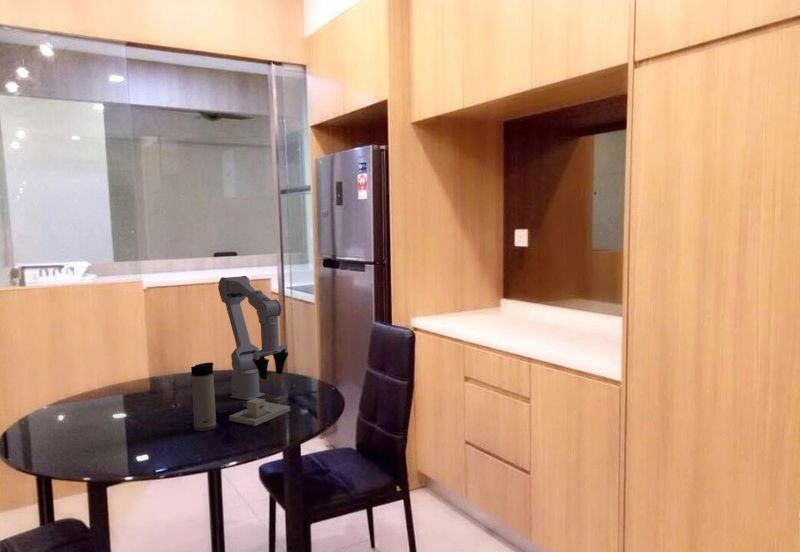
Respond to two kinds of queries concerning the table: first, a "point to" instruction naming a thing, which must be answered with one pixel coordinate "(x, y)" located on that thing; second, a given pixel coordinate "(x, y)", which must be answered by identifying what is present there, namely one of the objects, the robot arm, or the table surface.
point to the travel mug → (203, 397)
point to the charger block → (256, 407)
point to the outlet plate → (271, 412)
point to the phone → (267, 399)
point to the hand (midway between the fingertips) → (271, 376)
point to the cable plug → (279, 400)
